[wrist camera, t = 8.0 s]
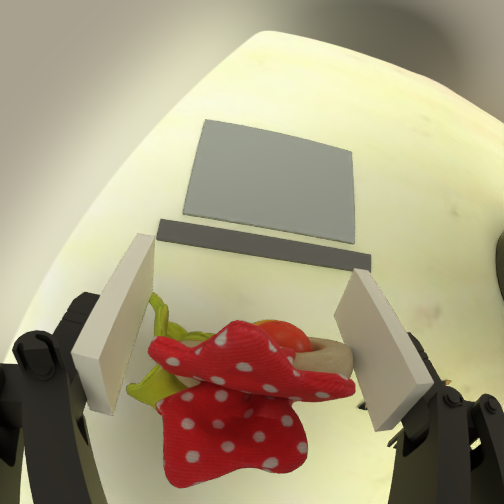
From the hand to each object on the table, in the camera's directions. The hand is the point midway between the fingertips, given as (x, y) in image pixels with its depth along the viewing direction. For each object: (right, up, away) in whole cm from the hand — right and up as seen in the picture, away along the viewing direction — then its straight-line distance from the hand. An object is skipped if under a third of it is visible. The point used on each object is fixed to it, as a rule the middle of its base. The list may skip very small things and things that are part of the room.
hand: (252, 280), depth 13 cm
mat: (+3, +7, +19) cm, 20 cm away
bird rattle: (-1, -4, +3) cm, 5 cm away
